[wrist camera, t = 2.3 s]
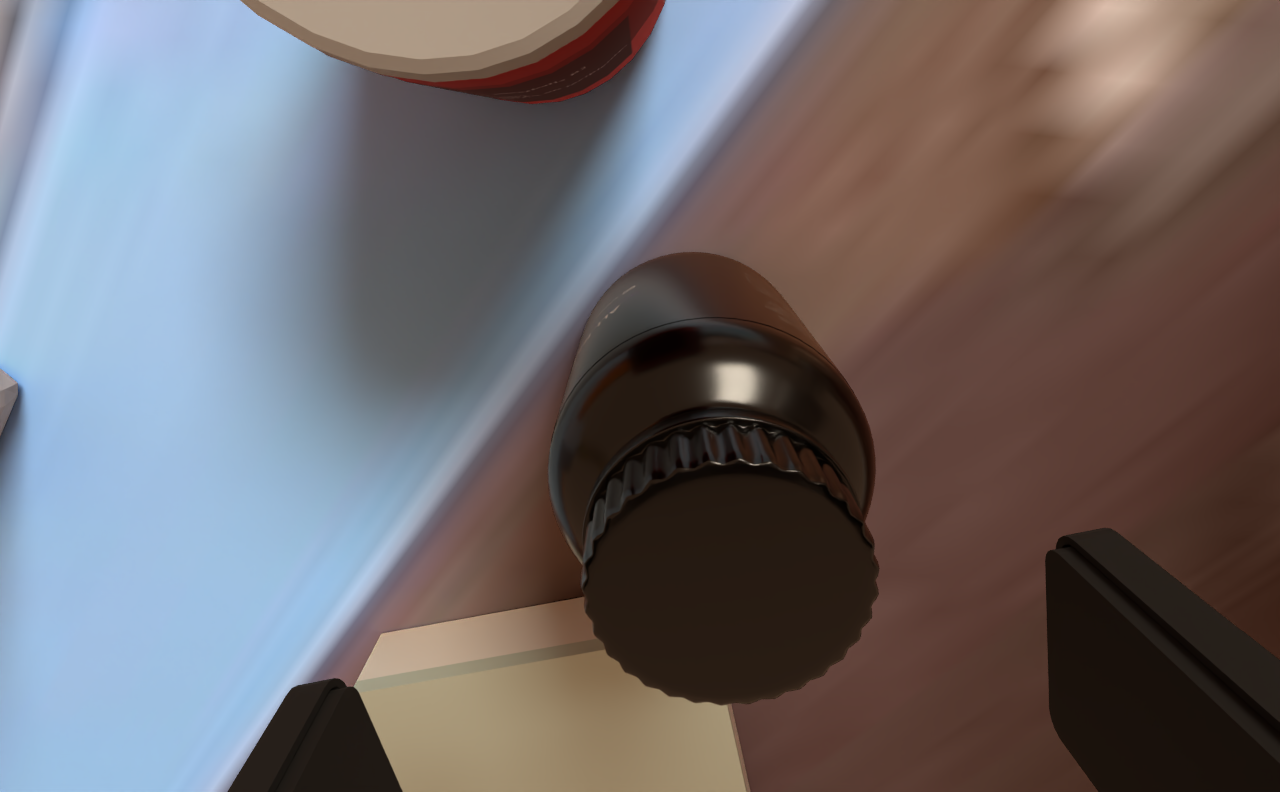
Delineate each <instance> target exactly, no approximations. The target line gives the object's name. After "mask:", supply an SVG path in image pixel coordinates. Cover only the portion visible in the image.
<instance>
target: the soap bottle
mask: <svg viewBox="0 0 1280 792" xmlns="http://www.w3.org/2000/svg"><path fill="white" fill-rule="evenodd" d="M17 396H18V383H17V382H16V381H15V380H14V379H12V378H11V377H10V376H9V375H8V374H6V373H5V372H4V371H3V370H2V369H0V436H1V433H2V431H3V429H4V426H5V424H6V422H7V419H8V417H9V415H10V412H11V410H12V407H13V405H14V403H15V400H16V398H17Z"/></svg>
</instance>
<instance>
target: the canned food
mask: <svg viewBox="0 0 1280 792" xmlns="http://www.w3.org/2000/svg"><path fill="white" fill-rule="evenodd" d="M241 1H242V2H243V3H244V4H245V5H247V6H248V7H249V8H250V9H251V10H253V11H254V12H255V13H256V14H257V15H259V16H260V17H262V18H264V19H265V20H267V21H269V22H271V23H272V24H274V25H276V26H277V27H279V28H281V29H283V30H284V31H286V32H288V33H289V34H291V35H293V36H294V37H296V38H298V39H300V40H301V41H303V42H305V43H306V44H308V45H310V46H312V47H314V48H316V49H317V50H319V51H321V52H323V53H324V54H326V55H328V56H330V57H333V58H336V59H338V60H341V61H344V62H347V63H350V64H352V65H355V66H358V67H361V68H364V69H366V70H369V71H372V72H375V73H378V74H380V75H384V76H389V77H394V78H397V79H400V80H403V81H405V82H410V83H416V84H421V85H426V86H431V87H437V88H442V89H447V90H453V91H458V92H463V93H468V94H474V95H479V96H484V97H490V98H495V99H500V100H506V101H513V102H521V103H528V104H537V103H550V102H560V101H563V100H566V99H570V98H573V97H576V96H579V95H582V94H585V93H587V92H589V91H591V90H593V89H594V88H596V87H598V86H599V85H601V84H603V83H605V82H606V81H608V80H610V79H611V78H612V77H613V76H614V75H615V74H617V73H618V72H619V71H620V70H621V69H622V68H623V67H624V66H625V65H626V64H627V63H629V62H630V61H631V60H632V59H633V57H634V56H635V55H636V53H637V52H638V51H639V49H640V48H641V46H642V45H643V44H644V42H645V41H646V40H647V38H648V37H649V35H650V34H651V32H652V30H653V28H654V25H655V23H656V21H657V19H658V17H659V15H660V13H661V10H662V8H663V6H664V4H665V0H241Z"/></svg>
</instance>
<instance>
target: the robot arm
mask: <svg viewBox="0 0 1280 792" xmlns="http://www.w3.org/2000/svg"><path fill="white" fill-rule="evenodd" d="M1045 566H1046V603H1047V639H1048V675H1049V709H1050V715H1051V719H1052V722H1053V725H1054V728H1055V730H1056V732H1057V734H1058V736H1059V738H1060V739H1061V741H1062V742H1063V744H1064V745H1065V746H1066V748H1067V749H1068V750H1069V752H1070V753H1071V755H1072V756H1073V757H1074V759H1075V760H1076V761H1077V763H1078V764H1079V766H1080V767H1081V768H1082V770H1083V771H1084V772H1085V774H1086V775H1087V776H1088V778H1089V779H1090V781H1091V782H1092V783H1093V785H1094V786H1095V787H1096V789H1097V790H1098V792H1280V660H1279V659H1278V658H1276V657H1275V656H1274V655H1272V654H1271V653H1270V652H1269V651H1267V650H1266V649H1265V648H1264V647H1262V646H1261V645H1260V644H1259V643H1257V642H1256V641H1255V640H1253V639H1252V638H1251V637H1250V636H1248V635H1247V634H1246V633H1245V632H1243V631H1242V630H1240V629H1239V628H1237V627H1236V626H1235V625H1234V624H1232V623H1231V622H1230V621H1229V620H1227V619H1226V618H1225V617H1224V616H1222V615H1221V614H1220V613H1218V612H1217V611H1216V610H1215V609H1213V608H1212V607H1211V606H1210V605H1208V604H1207V603H1206V602H1205V601H1203V600H1202V599H1201V598H1199V597H1198V596H1197V595H1196V594H1194V593H1193V592H1192V591H1191V590H1189V589H1188V588H1187V587H1186V586H1184V585H1183V584H1182V583H1181V582H1179V581H1178V580H1177V579H1175V578H1174V577H1173V576H1172V575H1170V574H1169V573H1168V572H1167V571H1165V570H1164V569H1163V568H1162V567H1160V566H1159V565H1158V564H1156V563H1155V562H1154V561H1153V560H1151V559H1150V558H1149V557H1148V556H1146V555H1145V554H1144V553H1143V552H1141V551H1140V550H1139V549H1138V548H1136V547H1135V546H1134V545H1132V544H1131V543H1130V542H1129V541H1127V540H1126V539H1125V538H1124V537H1122V536H1121V535H1120V534H1119V533H1117V532H1116V531H1114V530H1112V529H1110V528H1102V529H1096V530H1091V531H1086V532H1081V533H1076V534H1071V535H1066V536H1062V537H1061V538H1059V539H1058V542H1057V544H1056V549H1055V550H1050V551H1048V552H1047V554H1046V560H1045ZM228 792H403V791H402V789H401V787H400V784H399V782H398V780H397V778H396V775H395V773H394V771H393V768H392V766H391V764H390V762H389V759H388V757H387V755H386V753H385V750H384V748H383V746H382V744H381V741H380V739H379V737H378V734H377V732H376V730H375V728H374V725H373V723H372V721H371V719H370V716H369V714H368V712H367V710H366V707H365V705H364V703H363V700H362V698H361V696H360V694H359V692H358V690H357V689H356V688H354V687H347V686H346V685H345V683H344V682H343V681H342V680H340V679H336V678H334V679H328V680H323V681H318V682H313V683H308V684H303V685H298V686H296V687H294V688H292V689H291V690H290V691H289V693H288V694H287V695H286V697H285V699H284V700H283V702H282V703H281V705H280V707H279V708H278V710H277V712H276V713H275V715H274V717H273V718H272V720H271V721H270V723H269V725H268V726H267V728H266V730H265V731H264V733H263V735H262V736H261V738H260V739H259V741H258V743H257V744H256V746H255V748H254V749H253V751H252V753H251V754H250V756H249V757H248V759H247V761H246V762H245V764H244V766H243V767H242V769H241V771H240V772H239V774H238V775H237V777H236V779H235V780H234V782H233V784H232V785H231V787H230V789H229V790H228Z"/></svg>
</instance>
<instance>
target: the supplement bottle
mask: <svg viewBox="0 0 1280 792" xmlns="http://www.w3.org/2000/svg"><path fill="white" fill-rule="evenodd" d="M875 474H876V466H875V451H874V443H873V439H872V434H871V430H870V427H869V424H868V421H867V419H866V416H865V413H864V411H863V409H862V407H861V405H860V403H859V401H858V399H857V397H856V396H855V394H854V392H853V390H852V389H851V387H850V386H849V384H848V383H847V381H846V380H845V378H844V377H843V375H842V374H841V373H840V371H839V370H838V369H837V368H836V366H835V365H834V364H833V362H832V361H831V360H830V358H829V357H828V356H827V354H826V353H825V352H824V350H823V349H822V348H821V346H820V345H819V344H818V342H817V341H816V340H815V338H814V337H813V336H812V334H811V333H810V332H809V330H808V329H807V328H806V327H805V325H804V324H803V323H802V321H801V320H800V319H799V317H798V316H797V315H796V313H795V312H794V311H793V309H792V308H791V307H790V305H789V304H788V303H787V302H786V300H785V299H784V298H783V297H782V295H781V294H780V293H779V292H778V291H777V290H776V289H775V288H774V287H773V286H772V285H771V284H770V283H769V282H768V281H767V280H766V279H765V278H764V277H762V276H761V275H760V274H759V273H757V272H756V271H754V270H752V269H751V268H749V267H748V266H746V265H744V264H742V263H740V262H738V261H735V260H733V259H730V258H727V257H724V256H720V255H716V254H710V253H701V252H683V253H675V254H669V255H665V256H661V257H658V258H655V259H652V260H649V261H647V262H645V263H643V264H640V265H638V266H637V267H635V268H633V269H632V270H630V271H628V272H627V273H626V274H624V275H623V276H621V277H620V278H619V279H618V280H617V281H616V282H615V283H613V284H612V285H611V287H610V288H609V289H608V290H607V291H606V292H605V293H604V294H603V296H602V297H601V298H600V300H599V301H598V303H597V304H596V306H595V307H594V309H593V311H592V313H591V315H590V317H589V319H588V321H587V324H586V326H585V329H584V332H583V334H582V337H581V340H580V343H579V347H578V350H577V353H576V357H575V360H574V363H573V367H572V370H571V374H570V377H569V380H568V384H567V387H566V390H565V394H564V397H563V400H562V404H561V407H560V411H559V414H558V417H557V421H556V424H555V428H554V432H553V436H552V440H551V446H550V454H549V462H548V486H549V495H550V500H551V505H552V509H553V513H554V516H555V519H556V522H557V524H558V527H559V529H560V531H561V533H562V536H563V537H564V539H565V541H566V543H567V544H568V546H569V548H570V550H571V551H572V552H573V554H574V555H575V557H576V558H577V559H578V561H579V562H580V563H581V564H582V571H581V579H580V585H581V589H582V591H583V594H584V595H585V599H584V610H585V613H586V614H587V616H588V617H589V618H590V619H591V621H592V626H593V634H594V635H595V636H596V637H597V638H598V639H599V640H600V641H602V642H603V643H604V646H605V650H606V653H607V655H608V656H610V657H611V658H613V659H614V660H616V661H618V662H619V663H620V665H621V667H622V669H623V670H624V672H625V673H628V674H630V675H633V676H635V677H638V679H639V680H640V681H641V682H642V683H643V684H644V685H645V686H646V687H650V688H655V689H659V690H661V691H662V692H663V693H664V694H666V695H667V696H669V697H681V698H685V699H687V700H689V701H691V702H693V703H703V702H710V703H713V704H717V705H720V706H723V705H728V704H731V703H741V704H751V703H753V702H756V701H758V700H760V699H775V698H777V697H779V696H781V695H782V694H783V693H785V692H788V691H794V690H798V689H801V688H802V687H803V686H805V684H806V683H807V682H809V681H810V680H813V679H816V678H819V677H821V676H823V675H824V674H825V673H826V672H827V670H828V668H829V667H830V666H832V665H834V664H836V663H837V662H839V661H841V660H843V659H844V657H845V655H846V653H847V650H848V648H849V647H851V646H852V645H854V644H855V643H856V642H857V641H859V640H860V637H861V630H862V628H863V627H864V626H865V625H866V624H867V623H868V622H869V621H870V619H871V618H872V608H871V606H872V604H873V602H874V601H875V600H876V598H877V596H878V594H879V593H878V587H877V584H876V578H877V576H878V573H879V564H878V561H877V559H876V557H875V555H874V539H873V537H872V535H871V533H870V531H869V529H868V527H867V525H866V523H865V520H866V517H867V514H868V511H869V508H870V505H871V501H872V496H873V491H874V485H875Z"/></svg>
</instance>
